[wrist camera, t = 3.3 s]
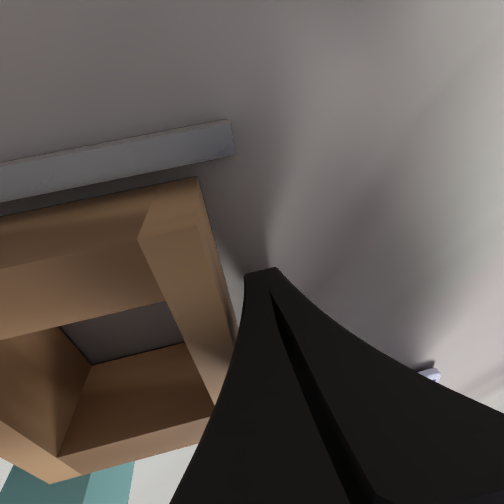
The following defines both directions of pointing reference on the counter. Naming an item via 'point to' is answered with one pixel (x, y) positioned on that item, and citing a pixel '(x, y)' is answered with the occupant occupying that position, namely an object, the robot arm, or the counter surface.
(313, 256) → the counter surface
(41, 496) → the aqua rectangular prism
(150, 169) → the backstop
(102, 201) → the brown rectangular frame
